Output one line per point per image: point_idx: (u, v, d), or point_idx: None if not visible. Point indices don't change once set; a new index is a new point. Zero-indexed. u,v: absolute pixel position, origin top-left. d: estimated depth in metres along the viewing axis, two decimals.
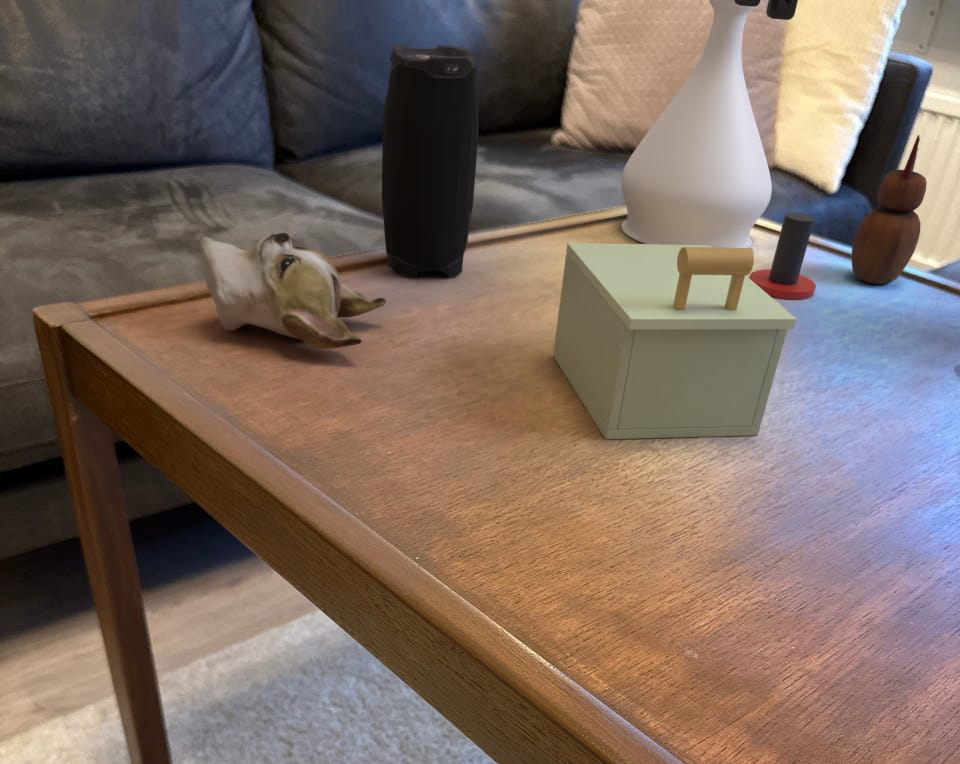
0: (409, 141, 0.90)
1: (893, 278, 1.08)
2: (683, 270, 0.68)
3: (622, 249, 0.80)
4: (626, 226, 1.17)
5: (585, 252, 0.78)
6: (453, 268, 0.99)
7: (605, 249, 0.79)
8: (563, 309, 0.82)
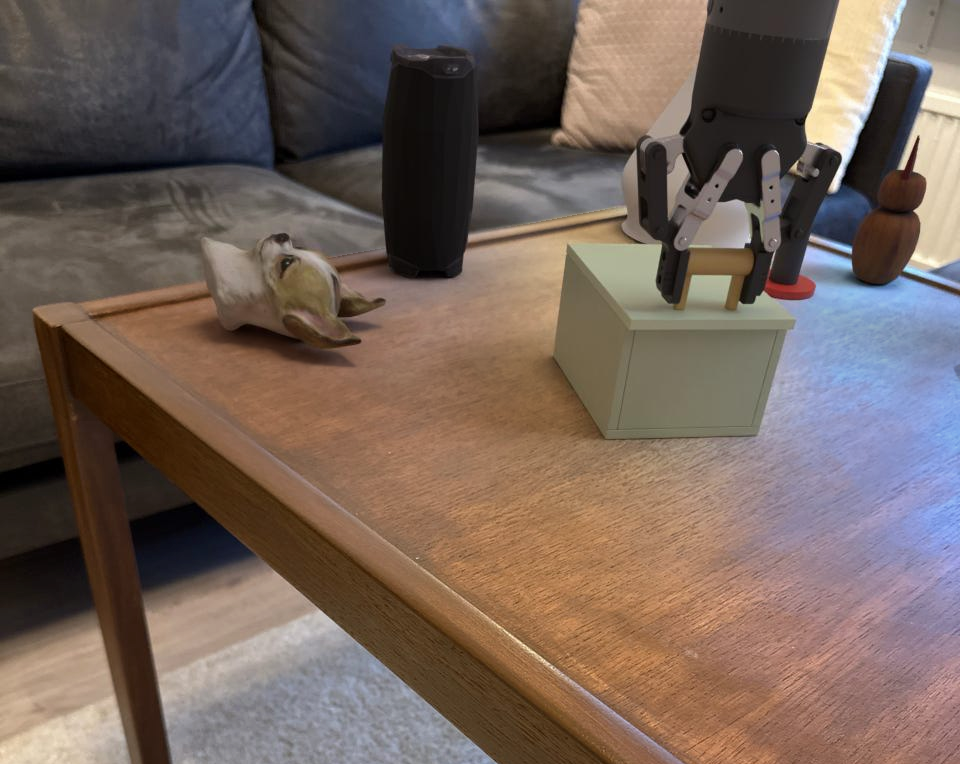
0: (409, 141, 0.90)
1: (893, 278, 1.08)
2: None
3: (622, 249, 0.80)
4: (626, 226, 1.17)
5: (585, 252, 0.78)
6: (453, 268, 0.99)
7: (605, 249, 0.79)
8: (563, 309, 0.82)
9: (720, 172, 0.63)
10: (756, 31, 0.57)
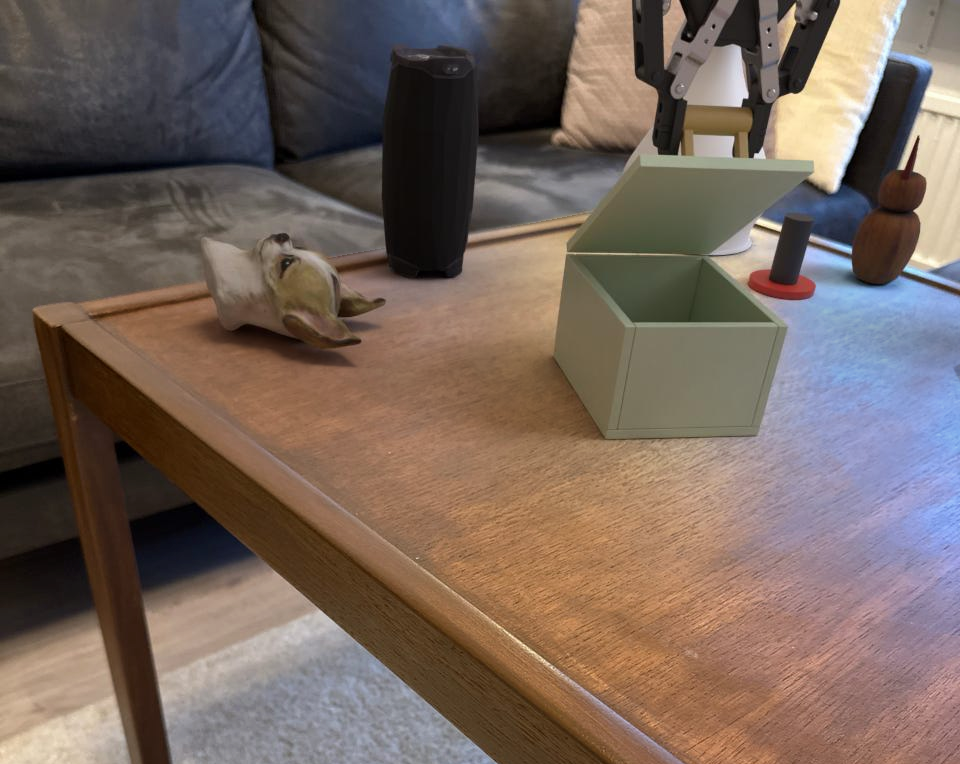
0: (409, 141, 0.90)
1: (893, 278, 1.08)
2: None
3: None
4: None
5: None
6: (453, 268, 0.99)
7: None
8: (563, 309, 0.82)
9: (717, 10, 0.62)
10: None
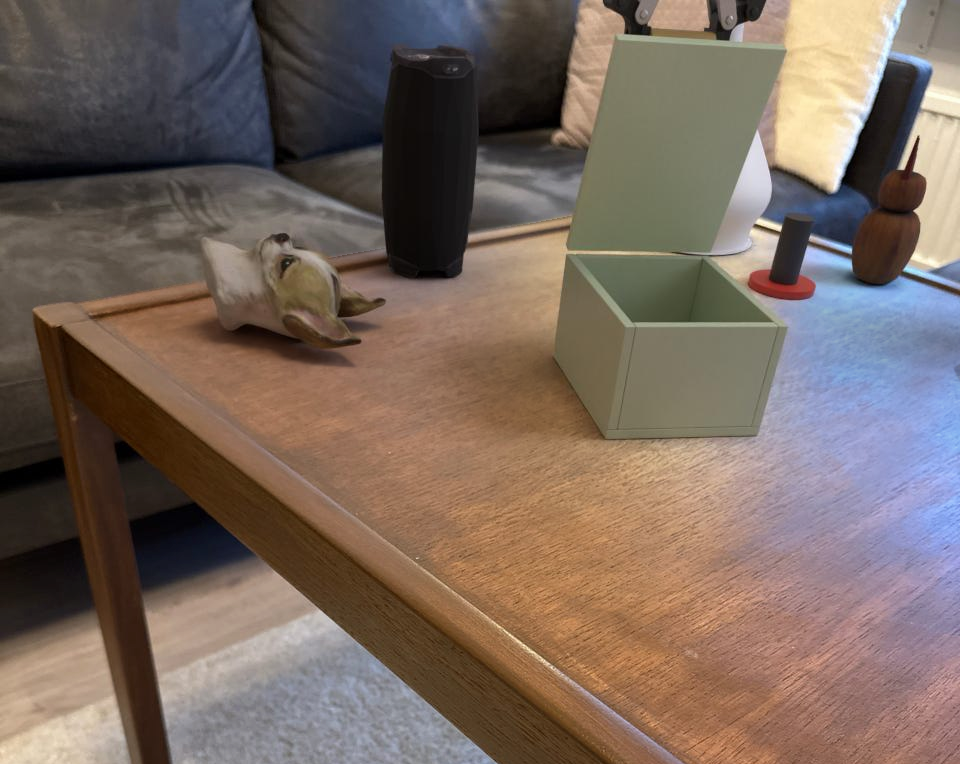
0: (409, 141, 0.90)
1: (893, 278, 1.08)
2: None
3: None
4: None
5: None
6: (453, 268, 0.99)
7: None
8: (563, 309, 0.82)
9: None
10: None
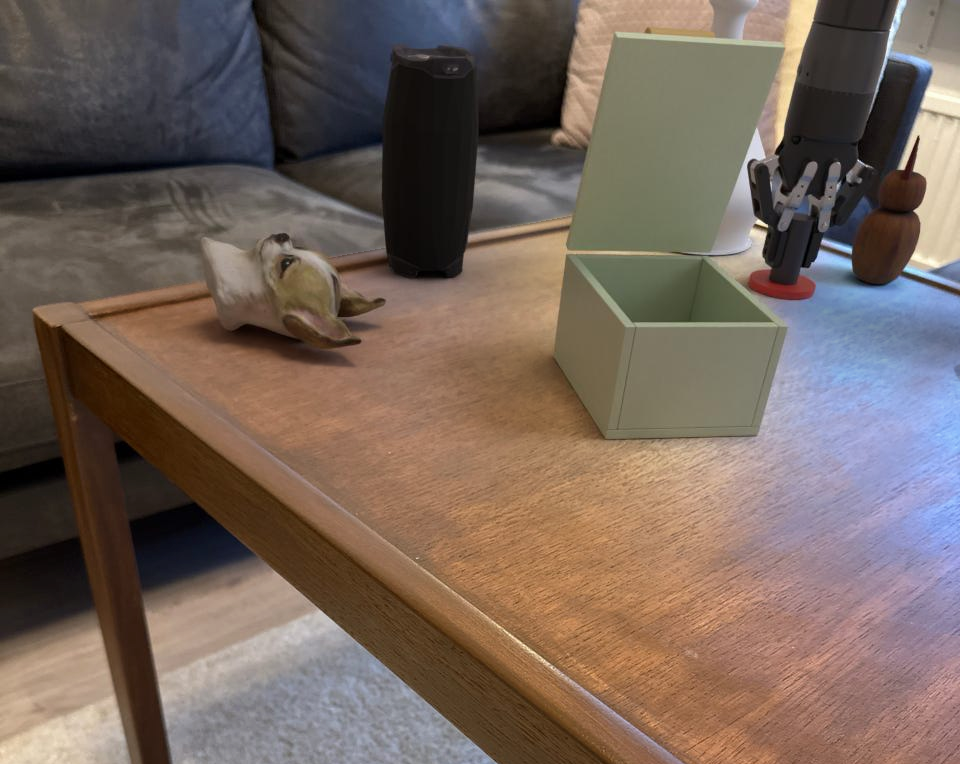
0: (409, 141, 0.90)
1: (893, 278, 1.08)
2: None
3: None
4: None
5: None
6: (453, 268, 0.99)
7: None
8: (563, 309, 0.82)
9: (803, 178, 0.96)
10: (830, 88, 0.90)
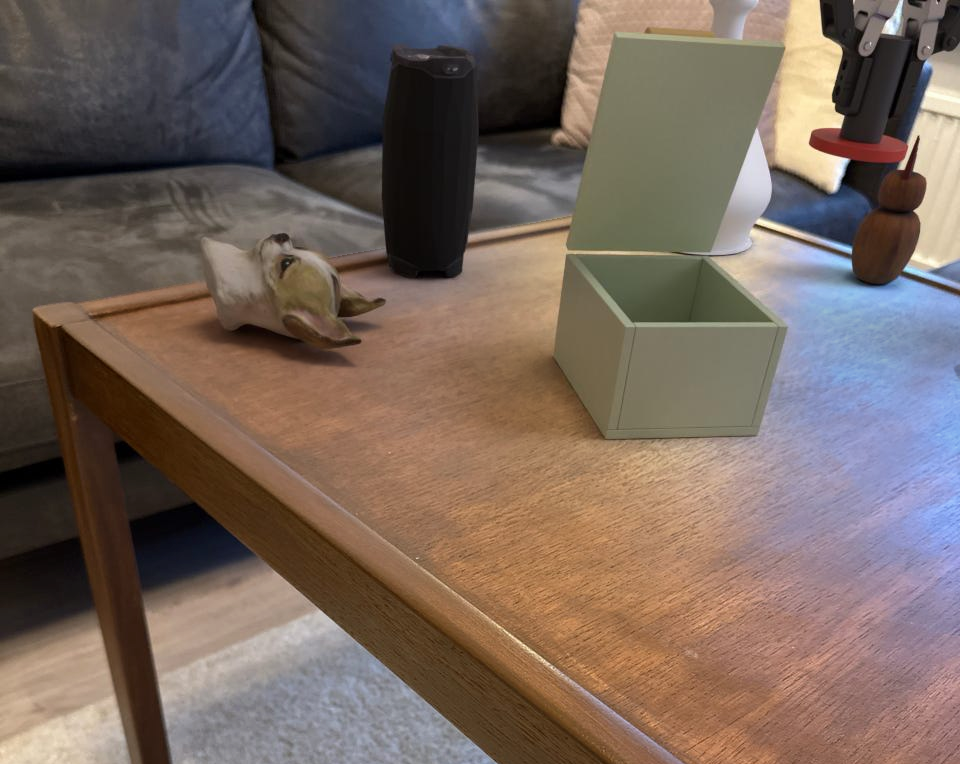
0: (409, 141, 0.90)
1: (893, 278, 1.08)
2: None
3: None
4: None
5: None
6: (453, 268, 0.99)
7: None
8: (563, 309, 0.82)
9: None
10: None
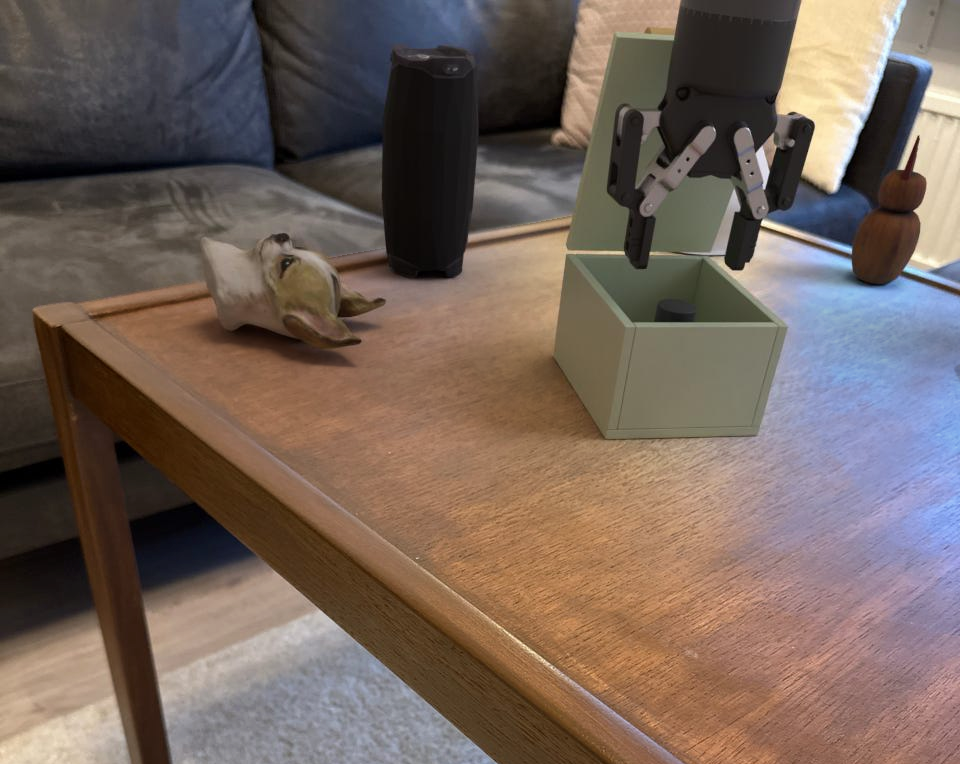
0: (409, 141, 0.90)
1: (893, 278, 1.08)
2: None
3: None
4: None
5: None
6: (453, 268, 0.99)
7: None
8: (563, 309, 0.82)
9: (693, 146, 0.66)
10: (726, 13, 0.60)
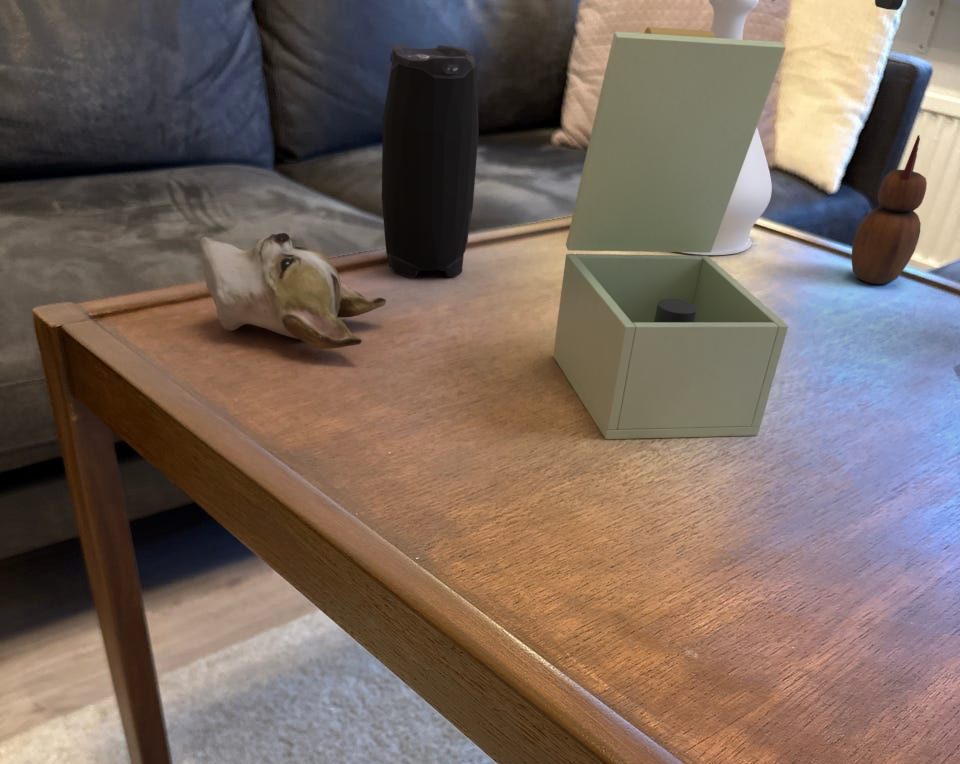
0: (409, 141, 0.90)
1: (893, 278, 1.08)
2: None
3: None
4: None
5: None
6: (453, 268, 0.99)
7: None
8: (563, 309, 0.82)
9: None
10: None
